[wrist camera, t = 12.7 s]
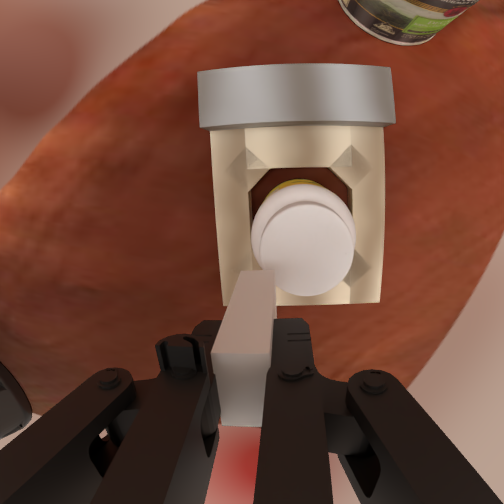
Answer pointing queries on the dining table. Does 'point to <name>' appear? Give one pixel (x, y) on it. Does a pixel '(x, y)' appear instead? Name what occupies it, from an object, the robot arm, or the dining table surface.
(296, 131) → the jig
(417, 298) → the dining table surface
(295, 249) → the pill bottle
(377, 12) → the coffee can
